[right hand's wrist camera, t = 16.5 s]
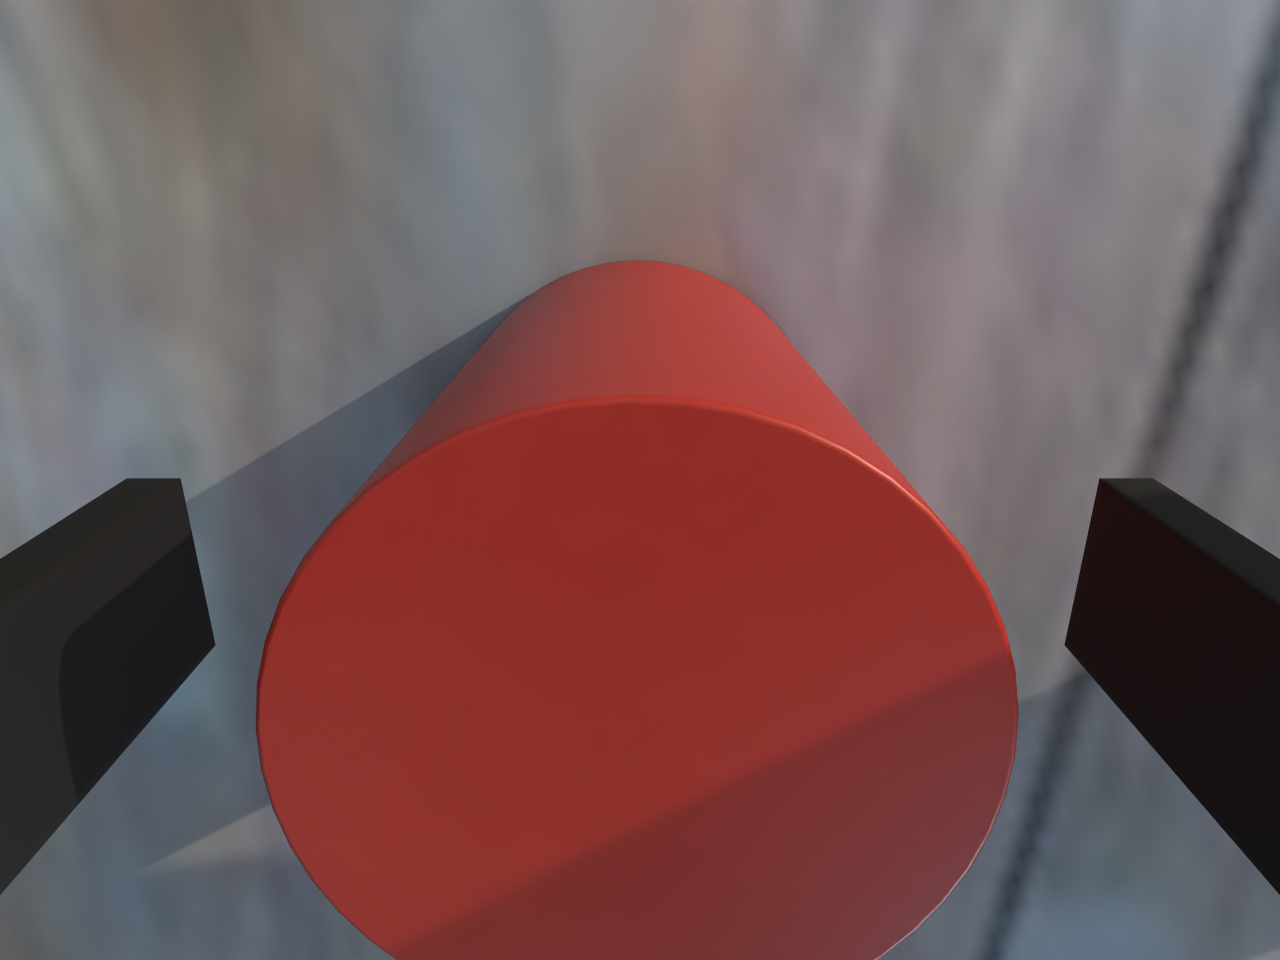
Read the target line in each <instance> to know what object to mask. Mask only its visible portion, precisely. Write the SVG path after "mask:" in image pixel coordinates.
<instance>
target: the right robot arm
mask: <svg viewBox="0 0 1280 960" xmlns="http://www.w3.org/2000/svg"><path fill="white" fill-rule="evenodd" d="M214 646H215V641H214V636H213V631H212V627H211V622H210V617H209V612H208V608H207V603H206V598H205V593H204V588H203V584H202V579H201V574H200V569H199V564H198V560H197V555H196V550H195V545H194V541H193V536H192V531H191V526H190V521H189V517H188V512H187V507H186V502H185V498H184V493H183V488H182V483H181V478H127V479H125V480H124V481H122V482H121V483H119V484H117V485H116V486H114V487H113V488H111V489H110V490H108V491H106V492H105V493H103V494H102V495H100V496H99V497H97V498H95V499H94V500H92V501H91V502H89V503H88V504H86V505H84V506H83V507H81V508H80V509H78V510H77V511H75V512H73V513H72V514H70V515H69V516H67V517H66V518H64V519H62V520H61V521H59V522H58V523H56V524H55V525H53V526H51V527H50V528H48V529H47V530H45V531H44V532H42V533H40V534H39V535H37V536H36V537H34V538H33V539H31V540H29V541H28V542H26V543H25V544H23V545H22V546H20V547H18V548H17V549H15V550H14V551H12V552H11V553H9V554H7V555H6V556H4V557H3V558H1V559H0V894H1V893H2V892H3V891H4V890H5V889H6V888H7V886H8V885H9V884H10V883H11V882H12V881H13V879H14V878H15V877H16V876H17V875H18V874H19V872H20V871H21V870H22V869H23V868H24V867H25V865H26V864H27V863H28V862H29V861H30V860H31V858H32V857H33V856H34V855H35V854H36V853H37V852H38V850H39V849H40V848H41V847H42V846H43V845H44V843H45V842H46V841H47V840H48V839H49V838H50V836H51V835H52V834H53V833H54V832H55V831H56V829H57V828H58V827H59V826H60V825H61V824H62V823H63V821H64V820H65V819H66V818H67V817H68V816H69V814H70V813H71V812H72V811H73V810H74V809H75V807H76V806H77V805H78V804H79V803H80V802H81V800H82V799H83V798H84V797H85V796H86V795H87V793H88V792H89V791H90V790H91V789H92V788H93V787H94V785H95V784H96V783H97V782H98V781H99V780H100V778H101V777H102V776H103V775H104V774H105V773H106V771H107V770H108V769H109V768H110V767H111V766H112V764H113V763H114V762H115V761H116V760H117V759H118V757H119V756H120V755H121V754H122V753H123V752H124V751H125V749H126V748H127V747H128V746H129V745H130V744H131V742H132V741H133V740H134V739H135V738H136V737H137V735H138V734H139V733H140V732H141V731H142V730H143V728H144V727H145V726H146V725H147V724H148V723H149V721H150V720H151V719H152V718H153V717H154V716H155V715H156V713H157V712H158V711H159V710H160V709H161V708H162V706H163V705H164V704H165V703H166V702H167V701H168V699H169V698H170V697H171V696H172V695H173V694H174V692H175V691H176V690H177V689H178V688H179V687H180V685H181V684H182V683H183V682H184V681H185V680H186V679H187V677H188V676H189V675H190V674H191V673H192V672H193V670H194V669H195V668H196V667H197V666H198V665H199V663H200V662H201V661H202V660H203V659H204V658H205V656H206V655H207V654H208V653H209V652H210V651H211V649H212V648H213V647H214ZM1065 646H1066V647H1067V648H1068V649H1069V651H1070V652H1071V653H1072V654H1073V655H1074V656H1075V658H1076V659H1077V660H1078V661H1079V662H1080V663H1081V665H1082V666H1083V667H1084V668H1085V669H1086V670H1087V672H1088V673H1089V674H1090V675H1091V676H1092V677H1093V679H1094V680H1095V681H1096V682H1097V683H1098V684H1099V685H1100V687H1101V688H1102V689H1103V690H1104V691H1105V692H1106V694H1107V695H1108V696H1109V697H1110V698H1111V699H1112V701H1113V702H1114V703H1115V704H1116V705H1117V706H1118V708H1119V709H1120V710H1121V711H1122V712H1123V713H1124V715H1125V716H1126V717H1127V718H1128V719H1129V720H1130V721H1131V723H1132V724H1133V725H1134V726H1135V727H1136V728H1137V730H1138V731H1139V732H1140V733H1141V734H1142V735H1143V737H1144V738H1145V739H1146V740H1147V741H1148V742H1149V744H1150V745H1151V746H1152V747H1153V748H1154V749H1155V751H1156V752H1157V753H1158V754H1159V755H1160V756H1161V757H1162V759H1163V760H1164V761H1165V762H1166V763H1167V764H1168V766H1169V767H1170V768H1171V769H1172V770H1173V771H1174V773H1175V774H1176V775H1177V776H1178V777H1179V778H1180V780H1181V781H1182V782H1183V783H1184V784H1185V785H1186V787H1187V788H1188V789H1189V790H1190V791H1191V792H1192V793H1193V795H1194V796H1195V797H1196V798H1197V799H1198V800H1199V802H1200V803H1201V804H1202V805H1203V806H1204V807H1205V809H1206V810H1207V811H1208V812H1209V813H1210V814H1211V816H1212V817H1213V818H1214V819H1215V820H1216V821H1217V823H1218V824H1219V825H1220V826H1221V827H1222V828H1223V829H1224V831H1225V832H1226V833H1227V834H1228V835H1229V836H1230V838H1231V839H1232V840H1233V841H1234V842H1235V843H1236V845H1237V846H1238V847H1239V848H1240V849H1241V850H1242V852H1243V853H1244V854H1245V855H1246V856H1247V857H1248V859H1249V860H1250V861H1251V862H1252V863H1253V864H1254V865H1255V867H1256V868H1257V869H1258V870H1259V871H1260V872H1261V874H1262V875H1263V876H1264V877H1265V878H1266V879H1267V881H1268V882H1269V883H1270V884H1271V885H1272V886H1273V888H1274V889H1275V890H1276V891H1277V892H1278V893H1279V894H1280V559H1279V558H1277V557H1276V556H1274V555H1273V554H1271V553H1269V552H1268V551H1266V550H1265V549H1263V548H1262V547H1260V546H1258V545H1257V544H1255V543H1254V542H1252V541H1251V540H1249V539H1247V538H1246V537H1244V536H1243V535H1241V534H1240V533H1238V532H1236V531H1235V530H1233V529H1232V528H1230V527H1229V526H1227V525H1225V524H1224V523H1222V522H1221V521H1219V520H1218V519H1216V518H1214V517H1213V516H1211V515H1210V514H1208V513H1207V512H1205V511H1203V510H1202V509H1200V508H1199V507H1197V506H1196V505H1194V504H1192V503H1191V502H1189V501H1188V500H1186V499H1185V498H1183V497H1181V496H1180V495H1178V494H1177V493H1175V492H1174V491H1172V490H1170V489H1169V488H1167V487H1166V486H1164V485H1163V484H1161V483H1159V482H1158V481H1156V480H1155V479H1153V478H1099V483H1098V488H1097V493H1096V498H1095V502H1094V507H1093V512H1092V517H1091V521H1090V526H1089V531H1088V536H1087V541H1086V545H1085V550H1084V555H1083V560H1082V564H1081V569H1080V574H1079V579H1078V584H1077V588H1076V593H1075V598H1074V603H1073V608H1072V612H1071V617H1070V622H1069V627H1068V631H1067V636H1066V641H1065Z"/></svg>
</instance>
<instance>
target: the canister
mask: <svg viewBox="0 0 1280 960" xmlns="http://www.w3.org/2000/svg"><path fill="white" fill-rule="evenodd" d="M1017 726H1018V700H1017V687H1016V673H1015V667H1014V663H1013V659H1012V654H1011V650H1010V646H1009V642H1008V638H1007V634H1006V629H1005V626H1004V624H1003V622H1002V619H1001V617H1000V614H999V612H998V610H997V607H996V605H995V602H994V600H993V598H992V595H991V593H990V590H989V588H988V586H987V584H986V583H985V581H984V579H983V578H982V576H981V575H980V573H979V571H978V570H977V568H976V566H975V565H974V563H973V562H972V560H971V558H970V557H969V555H968V554H967V552H966V550H965V549H964V547H963V546H962V545H961V543H960V542H959V541H958V540H957V539H956V537H955V536H954V535H953V534H952V533H951V532H950V530H949V529H948V528H947V527H946V526H945V524H944V523H943V522H942V521H941V520H940V519H939V517H938V516H937V515H936V514H935V513H934V511H933V510H932V509H931V508H930V507H929V506H928V504H927V503H926V502H925V501H924V500H923V499H922V497H921V496H920V495H919V494H918V493H917V491H916V490H915V489H914V488H913V487H912V486H911V484H910V483H909V482H908V481H907V480H906V478H905V477H904V476H903V475H902V474H901V473H900V471H899V470H898V469H897V468H896V467H895V465H894V464H893V463H892V462H891V461H890V460H889V458H888V457H887V456H886V455H885V454H884V453H883V451H882V450H881V449H880V448H879V447H878V445H877V444H876V443H875V442H874V441H873V440H872V438H871V437H870V436H869V435H868V434H867V432H866V431H865V430H864V429H863V428H862V427H861V425H860V424H859V423H858V422H857V421H856V419H855V418H854V417H853V416H852V415H851V414H850V412H849V411H848V410H847V409H846V408H845V406H844V405H843V404H842V403H841V402H840V401H839V399H838V398H837V397H836V396H835V395H834V394H833V392H832V391H831V390H830V389H829V388H828V386H827V385H826V384H825V383H824V382H823V381H822V379H821V378H820V377H819V376H818V375H817V373H816V372H815V371H814V370H813V369H812V368H811V366H810V365H809V364H808V363H807V362H806V360H805V359H804V358H803V357H802V356H801V355H800V353H799V352H798V351H797V350H796V349H795V348H794V346H793V345H792V344H791V343H790V342H789V340H788V339H787V338H786V337H785V336H784V335H783V333H782V332H781V331H780V330H779V329H778V328H777V326H776V325H775V324H774V323H773V322H772V320H771V319H770V318H769V317H768V316H767V315H766V313H764V312H763V311H762V310H761V309H760V308H759V307H758V306H756V305H755V304H754V303H753V302H752V301H751V300H750V299H749V298H747V297H746V296H744V295H743V294H741V293H740V292H738V291H737V290H735V289H734V288H732V287H731V286H729V285H728V284H726V283H724V282H722V281H720V280H718V279H716V278H713V277H711V276H709V275H707V274H705V273H702V272H699V271H696V270H693V269H690V268H687V267H684V266H679V265H673V264H668V263H662V262H653V261H623V262H612V263H606V264H601V265H597V266H593V267H588V268H584V269H582V270H579V271H576V272H574V273H571V274H568V275H565V276H563V277H561V278H559V279H557V280H555V281H553V282H551V283H550V284H548V285H546V286H544V287H542V288H540V289H539V290H538V291H536V292H535V293H534V294H532V295H531V296H529V297H528V298H527V299H525V300H524V301H523V302H521V303H520V304H519V305H518V306H517V307H516V308H515V309H514V310H513V311H512V312H511V313H510V314H509V315H508V316H507V317H506V318H505V319H504V320H503V321H502V322H501V323H500V325H499V326H498V327H497V328H496V329H495V330H494V332H493V333H492V334H491V335H490V336H489V337H488V339H487V340H486V341H485V342H484V343H483V344H482V346H481V347H480V348H479V349H478V350H477V351H476V353H475V354H474V355H473V356H472V357H471V359H470V360H469V361H468V362H467V363H466V364H465V366H464V367H463V368H462V369H461V370H460V371H459V373H458V374H457V375H456V376H455V377H454V378H453V380H452V381H451V382H450V383H449V384H448V385H447V387H446V388H445V389H444V390H443V391H442V393H441V394H440V395H439V396H438V397H437V398H436V400H435V401H434V402H433V403H432V404H431V405H430V407H429V408H428V409H427V410H426V411H425V412H424V414H423V415H422V416H421V417H420V418H419V419H418V421H417V422H416V423H415V424H414V425H413V427H412V428H411V429H410V430H409V431H408V432H407V434H406V435H405V436H404V437H403V438H402V439H401V441H400V442H399V443H398V444H397V445H396V446H395V448H394V449H393V450H392V451H391V452H390V453H389V455H388V456H387V457H386V458H385V459H384V461H383V462H382V463H381V464H380V465H379V466H378V468H377V469H376V470H375V471H374V472H373V473H372V475H371V476H370V477H369V478H368V479H367V480H366V482H365V483H364V484H363V485H362V486H361V487H360V489H359V490H358V491H357V492H356V493H355V495H354V496H353V497H352V498H351V499H350V500H349V502H348V503H347V504H346V505H345V506H344V507H343V509H342V510H341V511H340V512H339V513H338V514H337V516H336V517H335V518H334V519H333V520H332V522H331V523H330V524H329V525H328V527H327V528H326V529H325V531H324V532H323V533H322V534H321V536H320V537H319V538H318V540H317V541H316V542H315V543H314V545H313V546H312V547H311V549H310V550H309V551H308V552H307V554H306V555H305V556H304V558H303V559H302V561H301V563H300V564H299V566H298V568H297V570H296V572H295V573H294V575H293V577H292V579H291V581H290V582H289V584H288V586H287V588H286V590H285V591H284V593H283V595H282V597H281V599H280V601H279V604H278V607H277V609H276V612H275V615H274V618H273V620H272V623H271V626H270V629H269V631H268V634H267V637H266V640H265V644H264V649H263V654H262V660H261V665H260V670H259V676H258V681H257V704H256V733H257V741H258V748H259V756H260V763H261V770H262V774H263V777H264V781H265V784H266V787H267V791H268V794H269V797H270V801H271V804H272V808H273V810H274V813H275V815H276V817H277V819H278V821H279V823H280V826H281V828H282V830H283V832H284V834H285V836H286V838H287V841H288V843H289V845H290V847H291V848H292V850H293V852H294V853H295V855H296V856H297V858H298V859H299V861H300V862H301V864H302V866H303V867H304V869H305V870H306V872H307V873H308V875H309V876H310V878H311V880H312V881H313V882H314V883H315V885H316V886H317V887H318V888H319V889H320V890H321V892H322V893H323V894H324V895H325V896H326V897H327V899H328V900H329V901H330V902H331V903H332V905H333V906H334V907H335V908H336V909H337V910H338V912H339V913H340V914H342V915H343V916H344V917H345V918H346V919H347V920H348V921H349V922H350V923H351V924H352V925H353V926H355V927H356V928H357V929H358V930H359V931H360V932H361V933H362V934H363V935H364V936H365V937H366V938H368V939H369V940H370V941H371V942H373V943H374V944H375V945H377V946H378V947H380V948H381V949H382V950H384V951H385V952H386V953H388V954H389V955H391V956H392V957H393V958H395V959H396V960H878V959H879V958H881V957H882V956H884V955H885V954H886V953H888V952H889V951H890V950H891V949H893V948H894V947H895V946H896V945H898V944H899V943H900V942H901V941H903V940H904V939H905V938H907V937H908V936H909V935H910V934H912V933H913V932H914V931H915V930H916V929H917V928H918V927H919V926H920V925H921V924H922V923H923V922H924V921H925V920H926V919H927V918H928V917H929V916H930V915H931V914H932V913H933V912H934V911H935V910H936V909H937V908H938V907H939V906H940V905H941V904H942V903H943V902H944V901H945V900H946V899H947V898H948V896H949V895H950V894H951V892H952V891H953V890H954V889H955V887H956V886H957V885H958V883H959V882H960V881H961V880H962V878H963V877H964V876H965V874H966V873H967V872H968V871H969V869H970V867H971V866H972V864H973V862H974V861H975V859H976V857H977V855H978V854H979V852H980V850H981V849H982V847H983V845H984V844H985V842H986V840H987V838H988V837H989V835H990V833H991V830H992V828H993V825H994V823H995V820H996V818H997V816H998V813H999V811H1000V808H1001V806H1002V803H1003V801H1004V798H1005V795H1006V791H1007V787H1008V783H1009V779H1010V775H1011V771H1012V767H1013V763H1014V759H1015V750H1016V738H1017Z"/></svg>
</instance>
